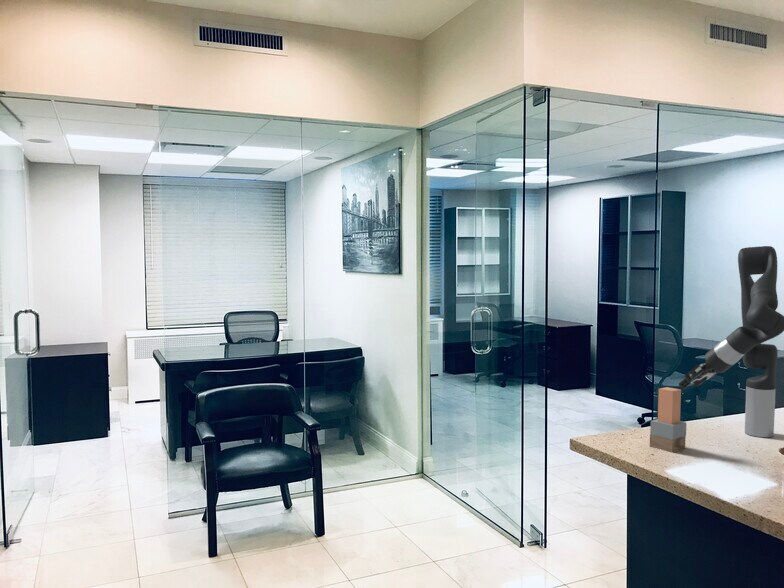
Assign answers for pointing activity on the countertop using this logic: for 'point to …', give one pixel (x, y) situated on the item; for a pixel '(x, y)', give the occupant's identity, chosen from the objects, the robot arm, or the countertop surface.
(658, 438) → the tower bottom slab
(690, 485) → the countertop surface
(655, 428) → the tower top slab
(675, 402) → the pillar
